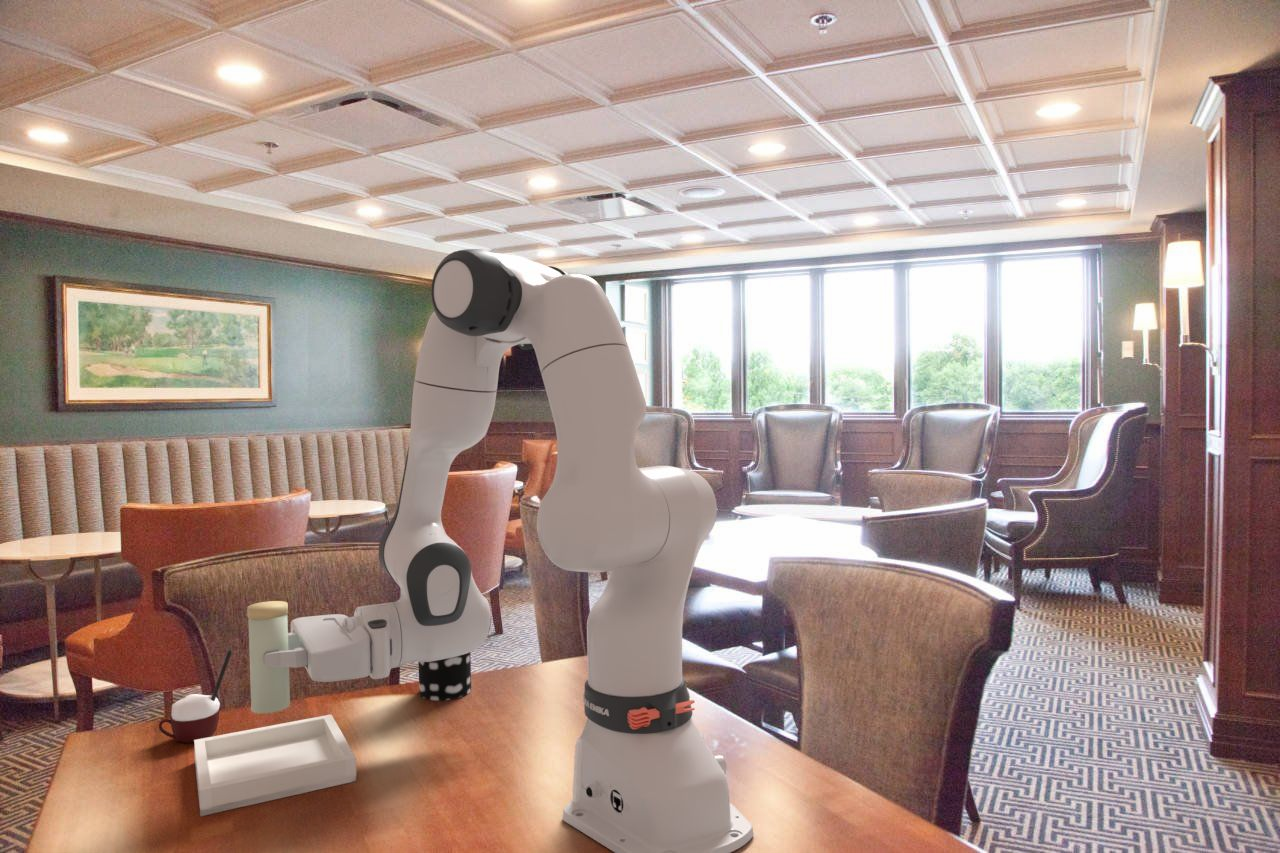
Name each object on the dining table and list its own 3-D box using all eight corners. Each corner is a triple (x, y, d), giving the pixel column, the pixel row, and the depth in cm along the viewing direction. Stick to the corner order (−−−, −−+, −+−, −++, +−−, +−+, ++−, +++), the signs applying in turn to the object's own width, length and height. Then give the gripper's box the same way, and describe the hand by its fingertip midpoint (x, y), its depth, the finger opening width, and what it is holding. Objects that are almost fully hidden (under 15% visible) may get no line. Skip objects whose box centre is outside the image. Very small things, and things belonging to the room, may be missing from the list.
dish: (356, 780, 107) (355, 757, 107) (200, 816, 98) (199, 790, 98) (331, 735, 122) (331, 714, 122) (194, 762, 113) (194, 739, 113)
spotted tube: (458, 702, 135) (455, 576, 134) (410, 699, 136) (406, 574, 136) (479, 684, 143) (476, 566, 142) (432, 682, 144) (429, 565, 144)
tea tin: (293, 709, 109) (290, 606, 109) (252, 716, 107) (248, 612, 106) (288, 697, 113) (285, 599, 113) (248, 704, 111) (245, 604, 110)
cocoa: (155, 750, 119) (147, 666, 118) (178, 731, 125) (169, 651, 124) (224, 745, 119) (216, 661, 118) (243, 726, 125) (236, 646, 124)
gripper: (356, 599, 125) (253, 612, 118) (388, 632, 107) (269, 649, 100) (357, 642, 125) (254, 657, 118) (390, 681, 107) (271, 702, 101)
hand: (261, 654), depth 109 cm, fingers closed on tea tin, 5 cm apart
